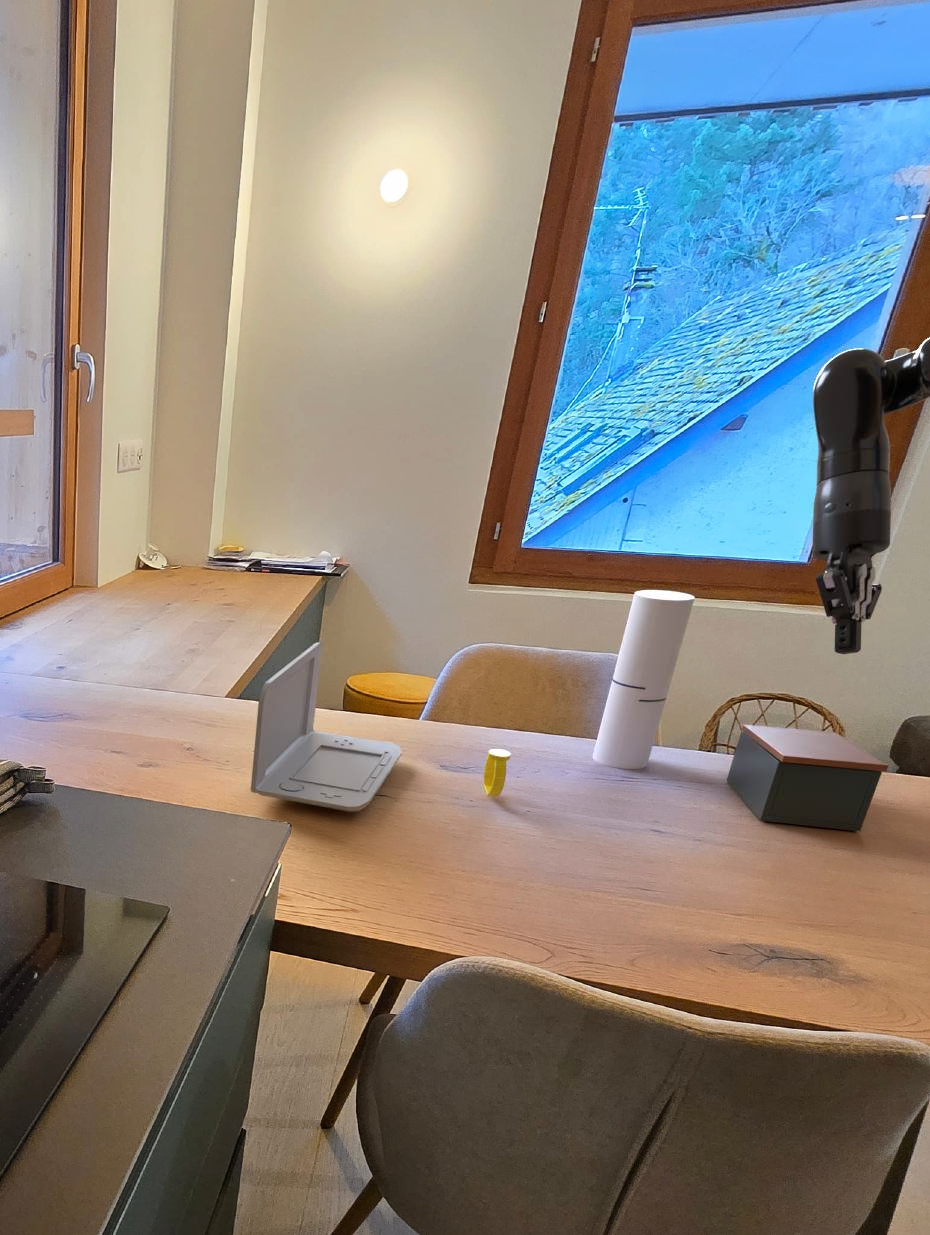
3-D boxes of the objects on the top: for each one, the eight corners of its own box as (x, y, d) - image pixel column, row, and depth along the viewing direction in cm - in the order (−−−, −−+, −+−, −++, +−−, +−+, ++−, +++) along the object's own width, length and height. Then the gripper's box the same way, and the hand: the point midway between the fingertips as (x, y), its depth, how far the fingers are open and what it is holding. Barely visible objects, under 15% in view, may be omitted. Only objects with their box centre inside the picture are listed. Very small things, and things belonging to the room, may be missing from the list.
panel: (886, 771, 115) (888, 765, 115) (781, 761, 119) (783, 755, 118) (833, 738, 130) (835, 732, 129) (741, 730, 133) (743, 724, 133)
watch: (475, 784, 134) (484, 743, 132) (497, 785, 134) (505, 745, 131) (483, 800, 129) (492, 758, 127) (506, 801, 129) (515, 760, 126)
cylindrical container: (595, 752, 148) (637, 588, 137) (648, 761, 144) (696, 593, 133) (588, 766, 143) (631, 596, 132) (643, 776, 139) (692, 602, 128)
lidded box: (860, 831, 119) (882, 771, 116) (759, 820, 123) (778, 762, 120) (814, 792, 133) (833, 738, 130) (725, 783, 136) (741, 730, 133)
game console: (362, 817, 123) (378, 702, 116) (250, 796, 130) (260, 686, 123) (405, 751, 144) (422, 650, 138) (308, 736, 151) (319, 639, 145)
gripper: (866, 497, 115) (862, 641, 115) (910, 517, 122) (906, 654, 122) (791, 515, 122) (788, 651, 122) (837, 533, 128) (834, 663, 128)
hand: (847, 652), depth 122 cm, fingers closed
